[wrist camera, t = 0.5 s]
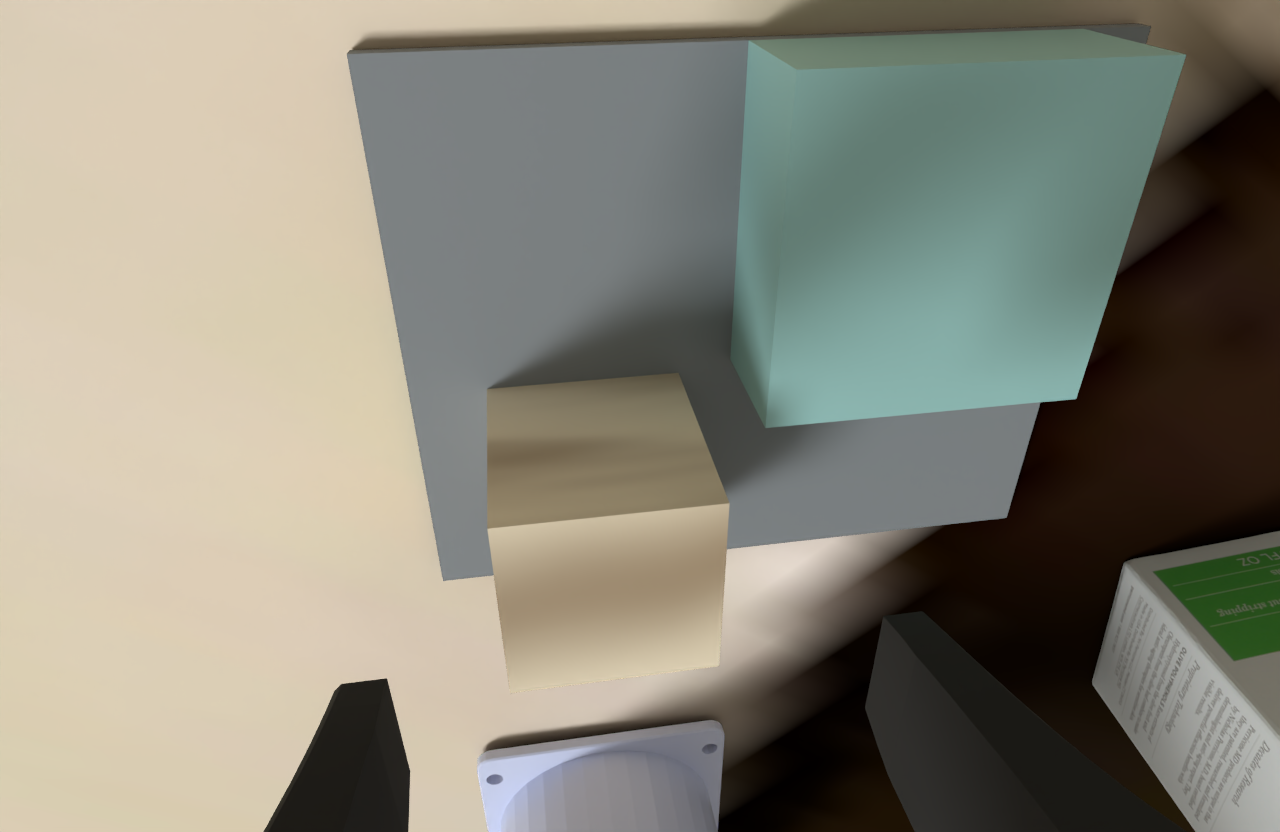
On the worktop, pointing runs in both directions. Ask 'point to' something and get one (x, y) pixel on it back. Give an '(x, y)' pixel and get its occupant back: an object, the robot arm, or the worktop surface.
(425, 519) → the worktop surface
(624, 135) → the mat
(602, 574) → the maple block
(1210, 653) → the skincare box
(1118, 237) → the plinth
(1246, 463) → the worktop surface
